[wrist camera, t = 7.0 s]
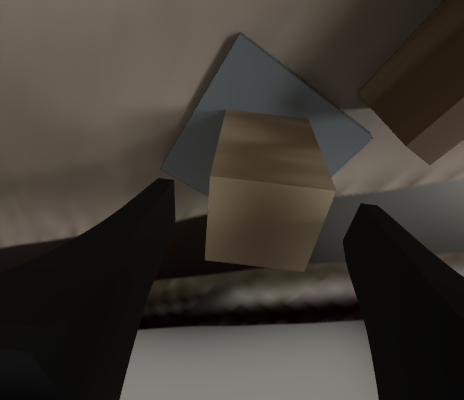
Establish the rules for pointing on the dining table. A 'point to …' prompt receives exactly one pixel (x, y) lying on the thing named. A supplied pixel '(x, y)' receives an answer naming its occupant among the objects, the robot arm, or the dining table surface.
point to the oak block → (266, 192)
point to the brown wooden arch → (425, 85)
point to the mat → (258, 101)
